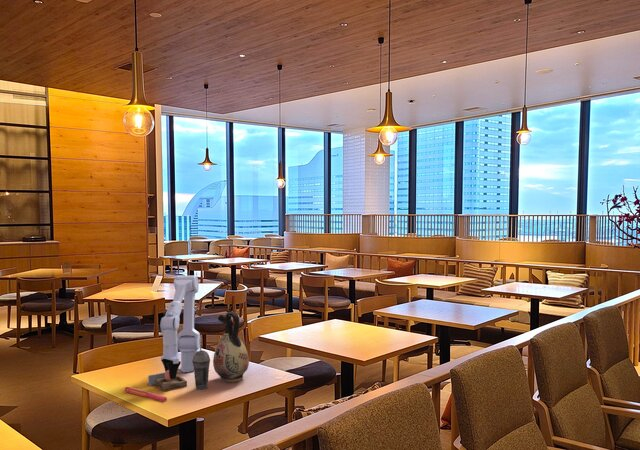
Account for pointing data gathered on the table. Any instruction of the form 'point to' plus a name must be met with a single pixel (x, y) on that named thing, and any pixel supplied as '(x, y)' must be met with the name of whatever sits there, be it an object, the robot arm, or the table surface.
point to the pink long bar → (145, 394)
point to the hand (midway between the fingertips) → (171, 377)
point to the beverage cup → (201, 369)
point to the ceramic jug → (230, 351)
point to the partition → (154, 378)
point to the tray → (171, 383)
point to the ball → (168, 376)
